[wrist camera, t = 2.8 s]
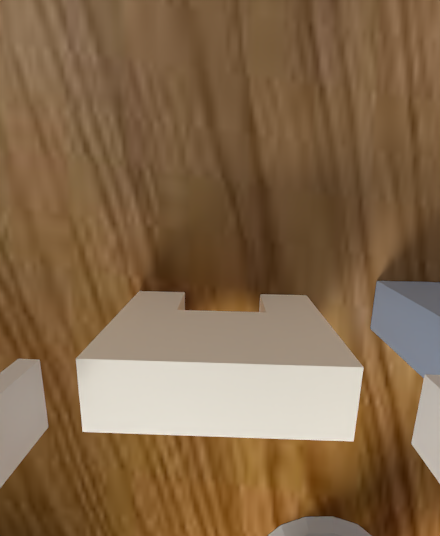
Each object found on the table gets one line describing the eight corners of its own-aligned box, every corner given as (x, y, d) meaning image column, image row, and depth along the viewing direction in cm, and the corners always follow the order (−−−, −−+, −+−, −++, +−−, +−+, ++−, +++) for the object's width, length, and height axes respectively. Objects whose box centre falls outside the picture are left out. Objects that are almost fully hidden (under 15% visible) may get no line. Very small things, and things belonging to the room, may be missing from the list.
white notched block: (141, 337, 19) (82, 431, 12) (139, 290, 19) (75, 358, 11) (302, 341, 19) (353, 441, 11) (306, 295, 18) (363, 367, 11)
